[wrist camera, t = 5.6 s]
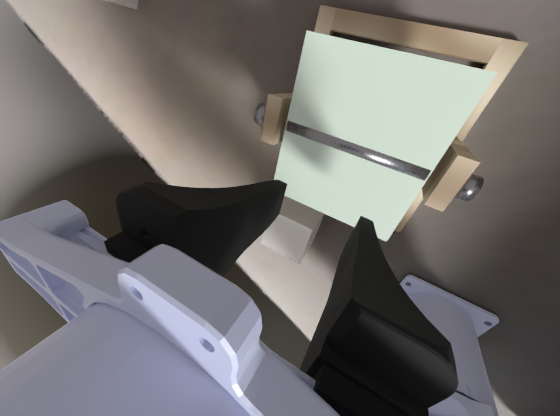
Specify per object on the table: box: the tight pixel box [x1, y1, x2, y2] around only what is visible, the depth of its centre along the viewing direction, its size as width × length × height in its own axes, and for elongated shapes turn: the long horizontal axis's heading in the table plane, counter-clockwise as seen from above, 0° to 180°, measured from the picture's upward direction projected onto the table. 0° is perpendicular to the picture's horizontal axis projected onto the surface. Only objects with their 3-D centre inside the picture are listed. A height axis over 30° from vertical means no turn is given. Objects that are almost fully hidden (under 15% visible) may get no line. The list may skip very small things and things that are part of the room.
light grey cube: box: [261, 196, 324, 264], centre depth 24 cm, size 4×4×4 cm
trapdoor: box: [274, 31, 497, 242], centre depth 14 cm, size 10×9×2 cm
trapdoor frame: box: [255, 5, 528, 233], centre depth 16 cm, size 14×14×7 cm
